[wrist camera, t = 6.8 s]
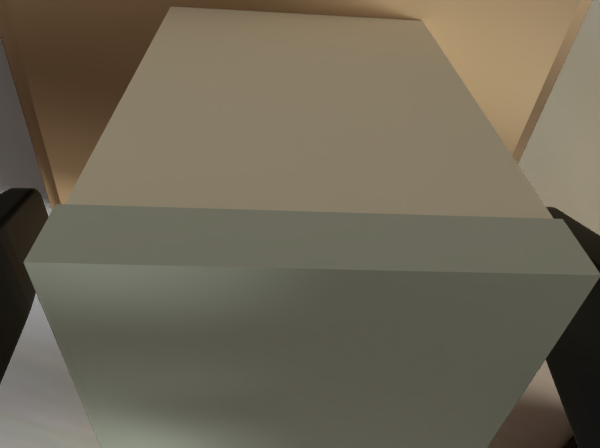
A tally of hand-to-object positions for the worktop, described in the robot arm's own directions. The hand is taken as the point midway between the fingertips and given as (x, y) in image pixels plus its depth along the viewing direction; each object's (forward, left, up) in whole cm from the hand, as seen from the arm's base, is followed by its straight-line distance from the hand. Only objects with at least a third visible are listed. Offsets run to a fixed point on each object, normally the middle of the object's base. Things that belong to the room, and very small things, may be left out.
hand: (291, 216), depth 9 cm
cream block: (0, 0, -3) cm, 3 cm away
